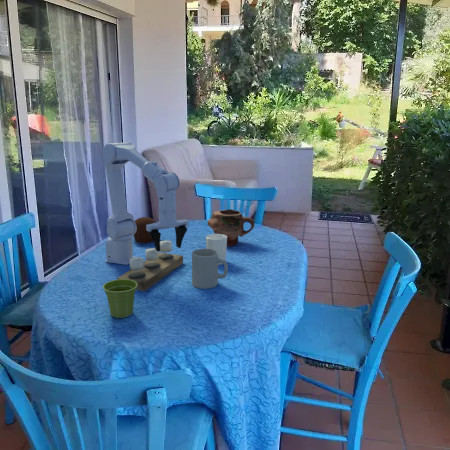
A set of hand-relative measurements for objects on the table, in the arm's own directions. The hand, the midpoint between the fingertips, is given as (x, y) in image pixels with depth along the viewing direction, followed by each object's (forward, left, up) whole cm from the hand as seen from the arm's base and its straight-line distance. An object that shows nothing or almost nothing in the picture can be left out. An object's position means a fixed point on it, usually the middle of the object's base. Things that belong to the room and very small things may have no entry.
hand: (168, 248), depth 152 cm
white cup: (+10, +20, -10) cm, 24 cm away
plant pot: (+1, -30, -10) cm, 32 cm away
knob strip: (-6, 0, -10) cm, 12 cm away
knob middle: (-6, 0, -4) cm, 8 cm away
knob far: (-6, +10, -4) cm, 12 cm away
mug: (+16, -1, -10) cm, 19 cm away
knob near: (-6, -10, -4) cm, 13 cm away
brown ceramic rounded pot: (+7, +44, -10) cm, 45 cm away
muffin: (-29, +34, -10) cm, 46 cm away
